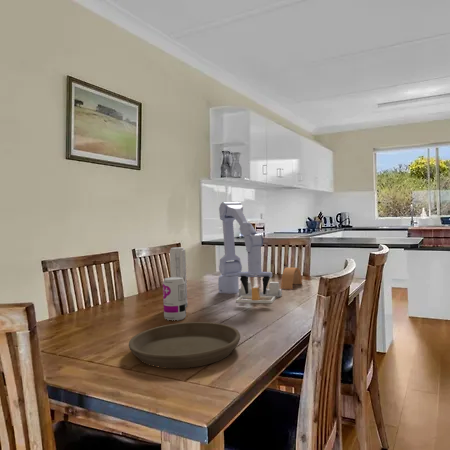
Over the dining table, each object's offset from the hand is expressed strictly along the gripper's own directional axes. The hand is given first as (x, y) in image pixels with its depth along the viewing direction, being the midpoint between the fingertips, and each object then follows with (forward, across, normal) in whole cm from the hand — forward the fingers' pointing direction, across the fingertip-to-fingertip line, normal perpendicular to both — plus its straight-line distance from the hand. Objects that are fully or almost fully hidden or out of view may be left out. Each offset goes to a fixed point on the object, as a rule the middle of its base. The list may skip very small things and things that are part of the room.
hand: (255, 293), depth 172 cm
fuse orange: (+3, 0, 0) cm, 3 cm away
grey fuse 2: (+3, +6, +11) cm, 13 cm away
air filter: (+4, -30, -13) cm, 33 cm away
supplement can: (+4, -24, -31) cm, 39 cm away
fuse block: (+4, 0, +11) cm, 11 cm away
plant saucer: (+4, -6, -64) cm, 64 cm away
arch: (+4, +10, +38) cm, 39 cm away
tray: (+4, 0, 0) cm, 4 cm away
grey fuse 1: (+3, -7, +11) cm, 13 cm away
